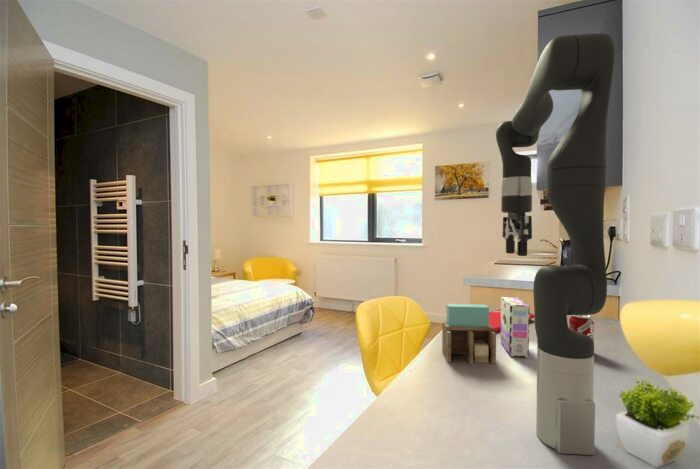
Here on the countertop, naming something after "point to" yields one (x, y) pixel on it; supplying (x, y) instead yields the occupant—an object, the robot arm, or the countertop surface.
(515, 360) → the countertop surface
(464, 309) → the block
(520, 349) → the candy box
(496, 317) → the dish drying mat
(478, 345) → the oak offcut
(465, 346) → the shelf
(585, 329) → the soda can
